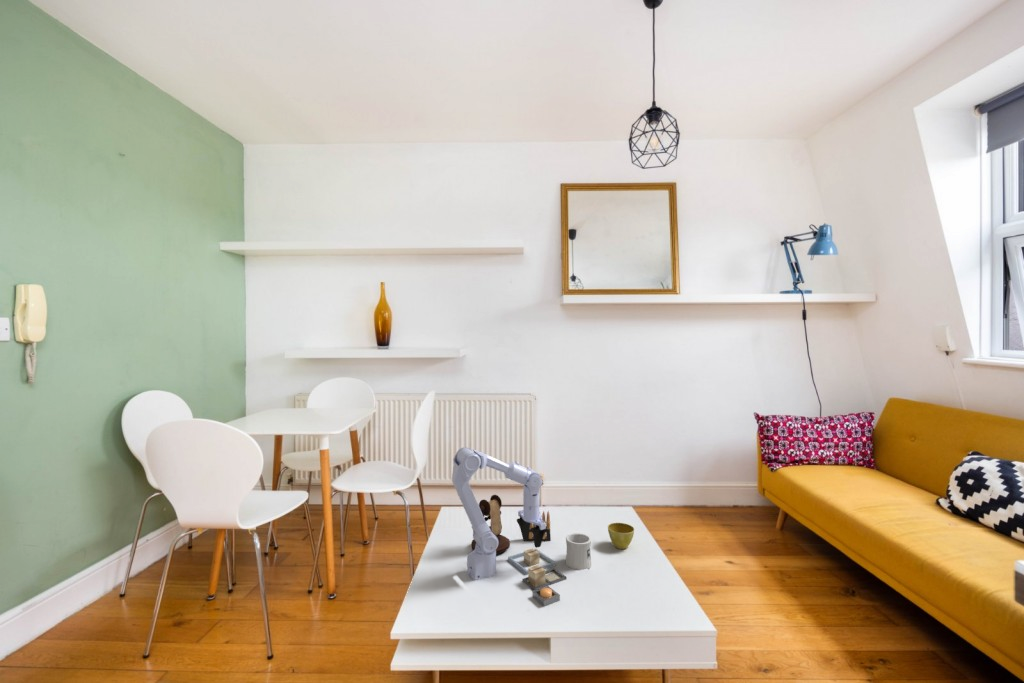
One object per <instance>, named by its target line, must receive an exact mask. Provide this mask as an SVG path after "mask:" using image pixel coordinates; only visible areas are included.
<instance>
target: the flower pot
mask: <svg viewBox="0 0 1024 683" xmlns="http://www.w3.org/2000/svg"><path fill="white" fill-rule="evenodd" d="M607 530H608V535H609V538H610V541H611V543H612V544H613V546H614V547H615V548H616V549H620V550H625V549H628V547H629V545H630V544H631V542H632V540H633V538H634V533H635V527H634V526H632V525H631V524H629V523H624V522H612V523H610V524H608V525H607Z"/></svg>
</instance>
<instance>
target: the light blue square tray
mask: <svg viewBox="0 0 1024 683" xmlns="http://www.w3.org/2000/svg"><path fill="white" fill-rule="evenodd" d="M534 549H535V550H536V551H538V552H539V557H541V558H543V559H544V560H545V561H547V563H545V564H542V565H540V566H541V567H542V568H543V569H545V570H547V569H548V568H552V567H555V566H556V565H557V564H556V563H557V562H556V561H555V560H554V559H552V558H550V557H549V556H547V555H546V554H545V553H543V552H542V551H540V550H539V549H537V548H534ZM518 558H519V559H520V558H524V551H523V552H520V553H517V554H513V555H510V556H508V557H507V561H509V563H511V564H513V565H514V566H515V567H516V568H518V569H519V570H520V571H521V572H522V573H524V574H525V575H527V576H528V569H526V568H525V567H524V566H522V565H521V564H520V563H518V562H517V561H516V559H518Z"/></svg>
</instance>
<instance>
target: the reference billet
mask: <svg viewBox="0 0 1024 683" xmlns="http://www.w3.org/2000/svg"><path fill="white" fill-rule="evenodd" d="M541 566H542V565H540V564H536V565H533V566H529V567H528V568H527V570H528V575H527V577H528V582H529V583H531V584H532V585H533V586H534V587H536V586H539V585H542V584H545V583H546V582H545V575H546V574H545V571H546V569H543V568H542V567H541Z"/></svg>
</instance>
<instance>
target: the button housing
mask: <svg viewBox="0 0 1024 683" xmlns="http://www.w3.org/2000/svg"><path fill="white" fill-rule="evenodd" d="M544 588H549V589H551V590H552V596H551V597H548V598H546V599H544V598H543V597H542V596H540V590H541V589H542V588H541V589H538V590H535V591H534V590H533V591H532V593H531V596H532V599H534V600H535V601H536V602H538V604H540V605H541V606H542V607H544V608H545V607H547V606H550V605H553V604H555V603H557V602H560V601H561V595H560V594H559V593H558V592H557V591H555V590H554V588H553V589H552V587H550V585H549V586H546V587H544Z"/></svg>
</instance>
